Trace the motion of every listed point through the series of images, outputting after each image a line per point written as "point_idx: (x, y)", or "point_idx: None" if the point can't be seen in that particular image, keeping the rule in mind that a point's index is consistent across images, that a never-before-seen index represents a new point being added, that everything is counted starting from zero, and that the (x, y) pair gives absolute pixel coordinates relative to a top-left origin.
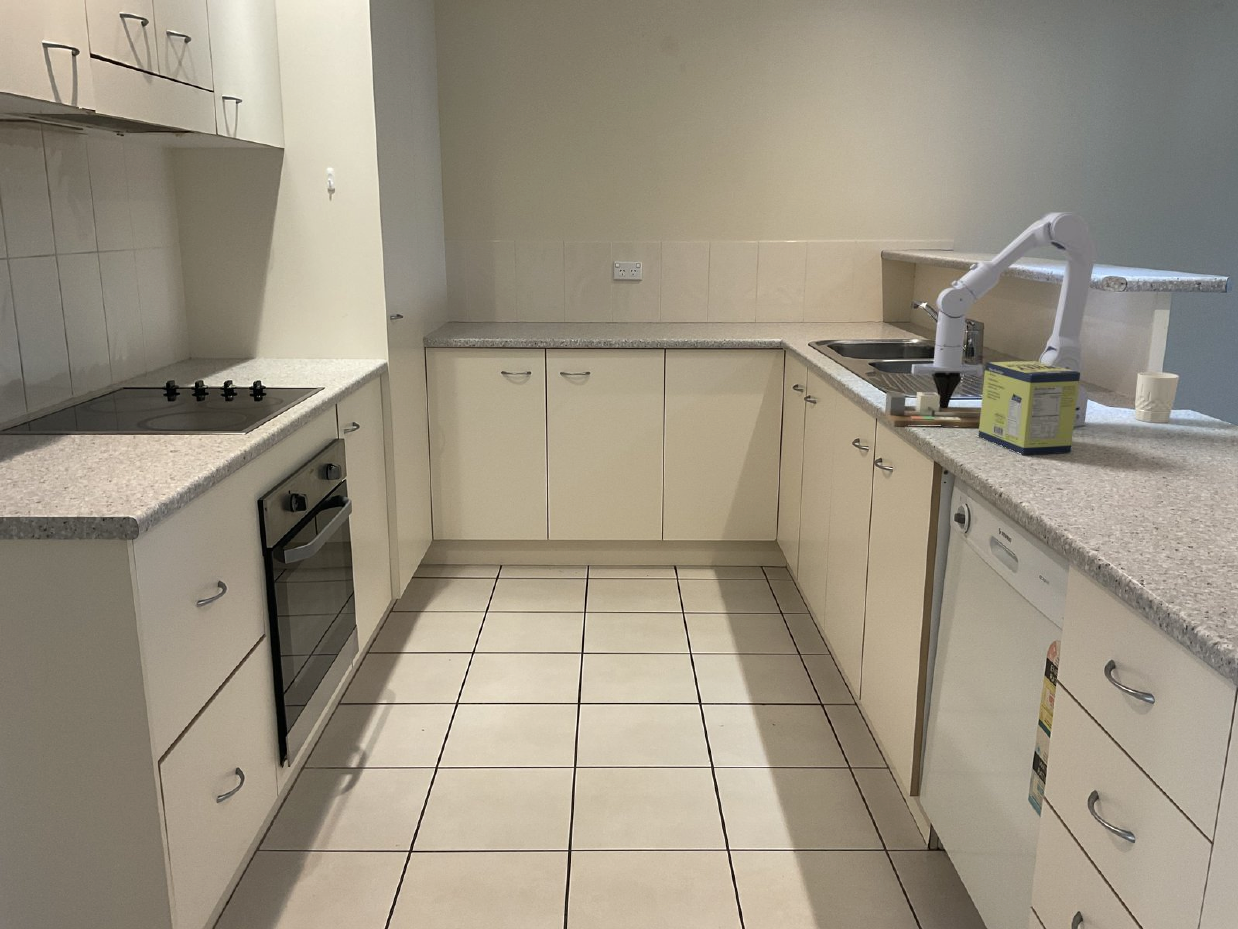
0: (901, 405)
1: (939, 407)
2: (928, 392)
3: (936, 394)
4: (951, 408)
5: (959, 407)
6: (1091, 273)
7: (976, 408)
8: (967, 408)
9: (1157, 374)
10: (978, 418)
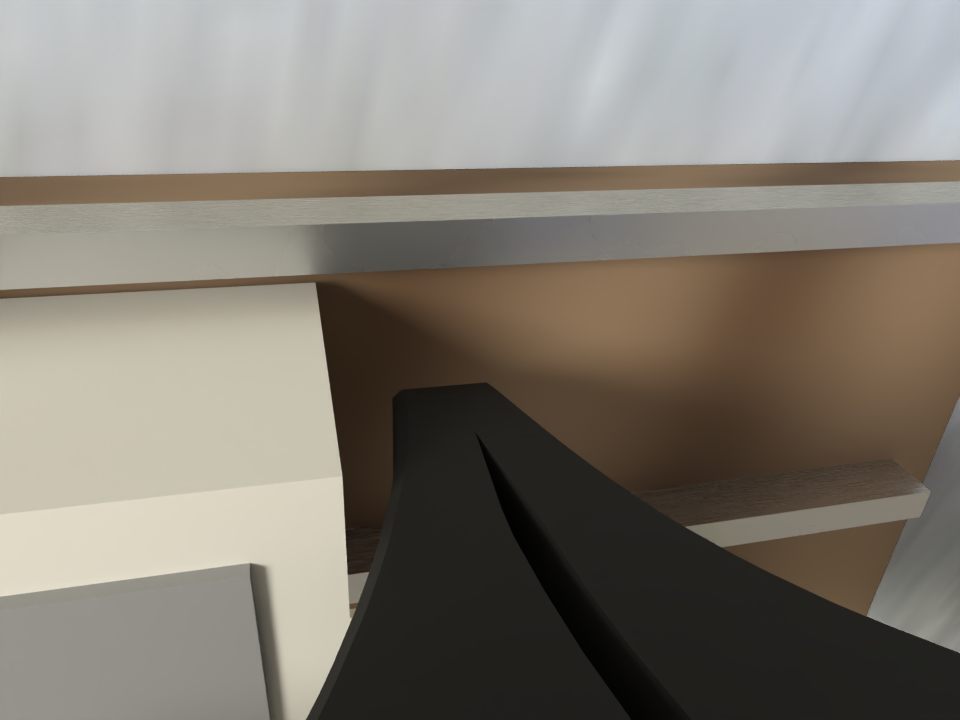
0: None
1: (417, 267)
2: (126, 609)
3: (314, 677)
4: (612, 248)
5: (738, 250)
6: None
7: (952, 240)
8: (839, 241)
9: None
10: (746, 547)
